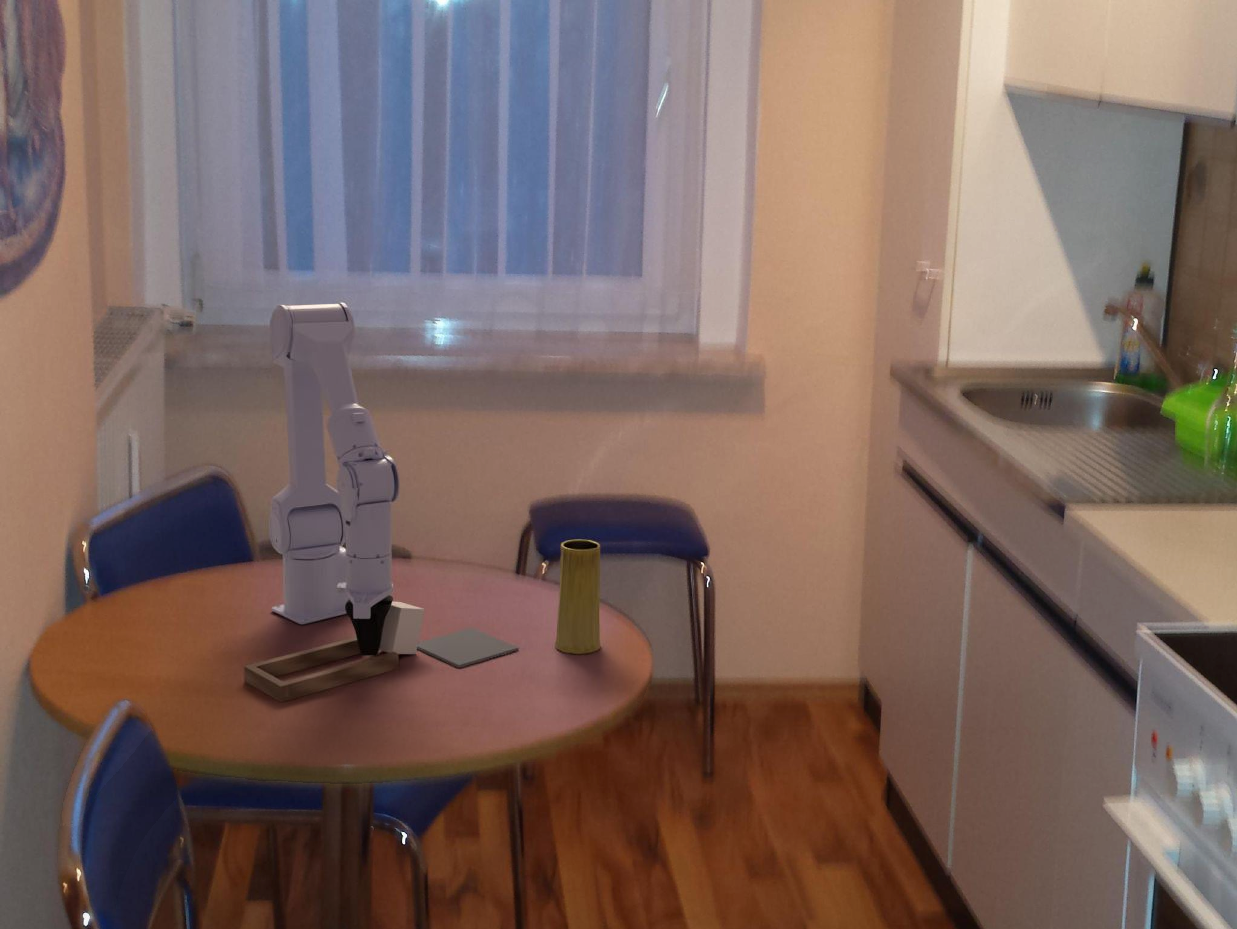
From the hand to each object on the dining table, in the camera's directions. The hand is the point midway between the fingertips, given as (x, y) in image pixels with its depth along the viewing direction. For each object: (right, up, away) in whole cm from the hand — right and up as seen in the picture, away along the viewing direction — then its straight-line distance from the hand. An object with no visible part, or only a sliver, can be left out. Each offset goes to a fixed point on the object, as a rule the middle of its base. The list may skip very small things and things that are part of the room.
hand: (369, 653), depth 183 cm
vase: (+27, 0, +8) cm, 28 cm away
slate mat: (+12, 0, +6) cm, 13 cm away
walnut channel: (-5, -2, -5) cm, 7 cm away
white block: (+2, 0, +3) cm, 4 cm away
